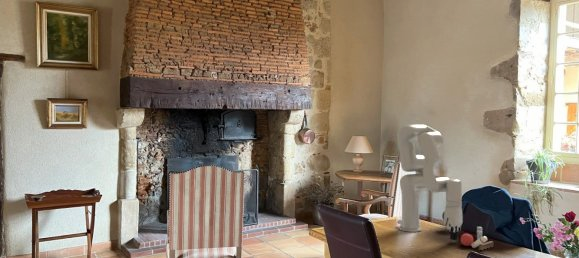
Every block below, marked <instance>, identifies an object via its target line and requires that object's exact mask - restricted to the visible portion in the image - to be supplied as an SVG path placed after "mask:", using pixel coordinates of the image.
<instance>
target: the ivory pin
mask: <svg viewBox="0 0 579 258" xmlns="http://www.w3.org/2000/svg"><path fill="white" fill-rule="evenodd" d="M487 242H488V237H487V236H485V235H484V236H483V235H482V237H481V238H480V239H478V240H477V239H476V240H475V241H473V243H472V244H471V245H470V246H471V247H472V248H473V249H475V248H478V247H479V245H481V244H484V243H487Z"/></svg>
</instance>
